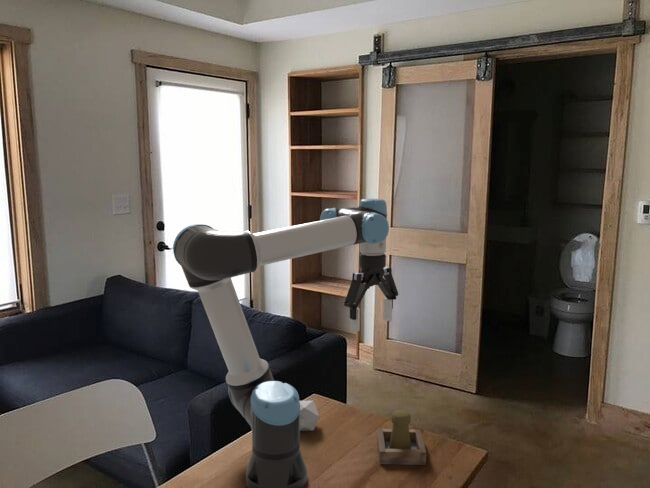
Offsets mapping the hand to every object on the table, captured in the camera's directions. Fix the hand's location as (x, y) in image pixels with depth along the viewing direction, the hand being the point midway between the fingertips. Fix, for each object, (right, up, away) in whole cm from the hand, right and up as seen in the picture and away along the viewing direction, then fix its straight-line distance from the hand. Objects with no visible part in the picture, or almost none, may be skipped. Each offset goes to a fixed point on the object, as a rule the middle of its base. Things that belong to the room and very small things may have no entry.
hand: (371, 325), depth 157 cm
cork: (+7, -33, -11) cm, 35 cm away
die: (-20, -31, +2) cm, 37 cm away
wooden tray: (+7, -33, -11) cm, 35 cm away
